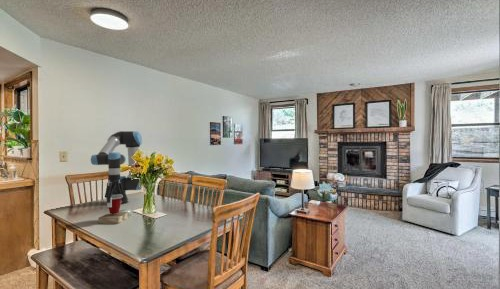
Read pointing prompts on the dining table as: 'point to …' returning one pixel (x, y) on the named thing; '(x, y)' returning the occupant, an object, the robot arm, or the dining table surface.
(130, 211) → the pale green ball
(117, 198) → the plastic cup
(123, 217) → the maple open box
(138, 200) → the dining table surface
